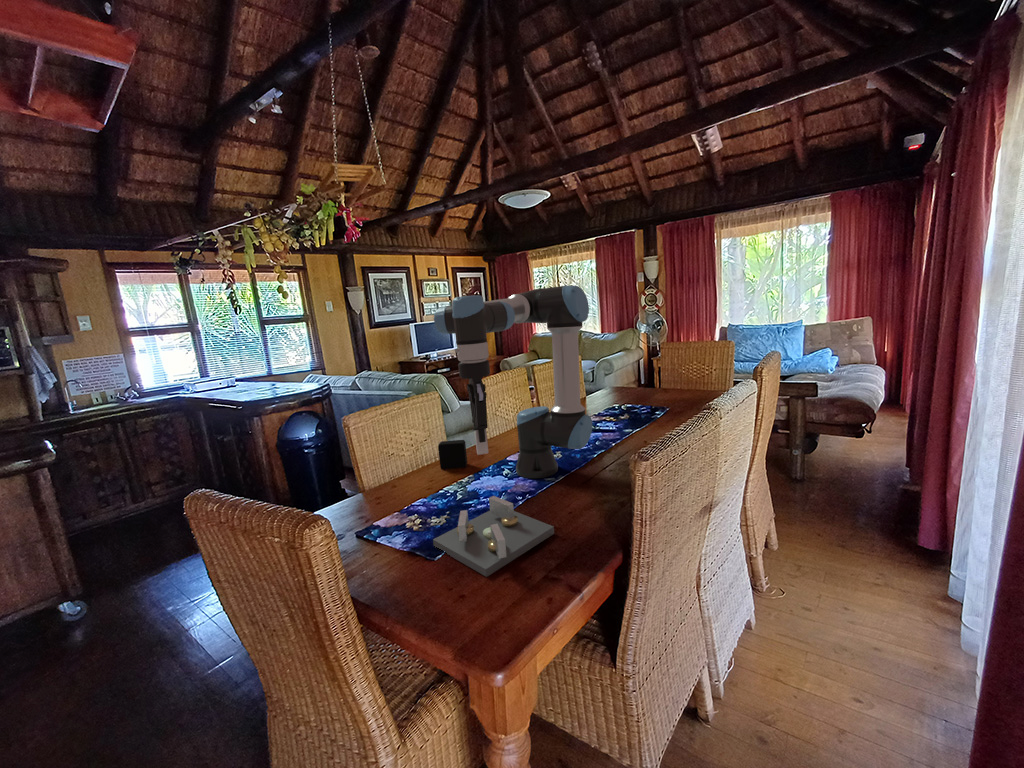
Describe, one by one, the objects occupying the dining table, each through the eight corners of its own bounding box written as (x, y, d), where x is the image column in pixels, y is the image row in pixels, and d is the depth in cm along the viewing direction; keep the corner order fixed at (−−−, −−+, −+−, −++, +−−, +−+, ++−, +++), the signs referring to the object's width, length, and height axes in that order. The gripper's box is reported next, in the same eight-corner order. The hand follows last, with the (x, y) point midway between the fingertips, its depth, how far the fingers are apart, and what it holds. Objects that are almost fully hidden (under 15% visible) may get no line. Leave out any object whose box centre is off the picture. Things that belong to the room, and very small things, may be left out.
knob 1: (458, 528, 120) (456, 509, 119) (474, 526, 120) (472, 507, 119) (455, 546, 111) (452, 526, 110) (472, 545, 111) (470, 524, 110)
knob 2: (521, 522, 121) (519, 502, 120) (509, 528, 118) (507, 509, 117) (498, 512, 128) (497, 494, 127) (487, 518, 125) (485, 499, 124)
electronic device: (466, 467, 171) (463, 442, 169) (440, 469, 172) (437, 444, 170) (467, 463, 175) (465, 439, 174) (442, 465, 176) (439, 441, 174)
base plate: (500, 511, 133) (499, 501, 132) (554, 533, 118) (553, 522, 117) (433, 546, 117) (432, 535, 116) (486, 577, 102) (485, 564, 101)
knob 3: (486, 544, 111) (484, 523, 110) (503, 540, 112) (501, 520, 111) (494, 564, 102) (491, 542, 101) (512, 560, 103) (510, 538, 102)
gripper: (454, 359, 113) (464, 447, 118) (461, 365, 101) (472, 464, 105) (483, 356, 115) (491, 443, 119) (494, 361, 103) (503, 458, 107)
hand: (482, 453), depth 112 cm, fingers closed
